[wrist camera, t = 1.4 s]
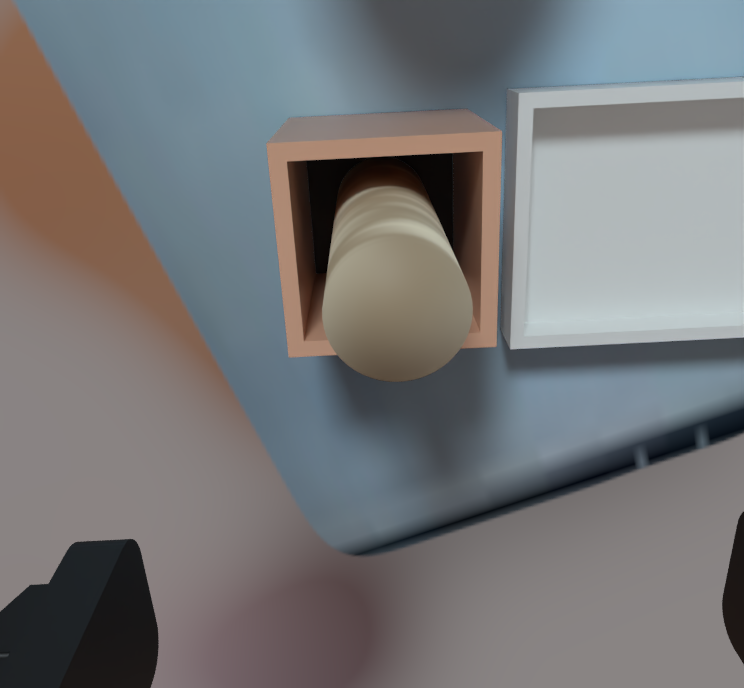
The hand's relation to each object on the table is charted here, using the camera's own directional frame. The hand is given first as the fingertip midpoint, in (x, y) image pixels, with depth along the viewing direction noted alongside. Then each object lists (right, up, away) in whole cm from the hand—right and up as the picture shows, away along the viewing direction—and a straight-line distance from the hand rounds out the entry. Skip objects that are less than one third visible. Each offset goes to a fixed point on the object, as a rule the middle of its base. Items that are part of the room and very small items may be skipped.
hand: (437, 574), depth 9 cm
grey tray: (+13, +9, +22) cm, 27 cm away
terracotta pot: (0, +10, +22) cm, 24 cm away
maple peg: (0, +10, +22) cm, 24 cm away
